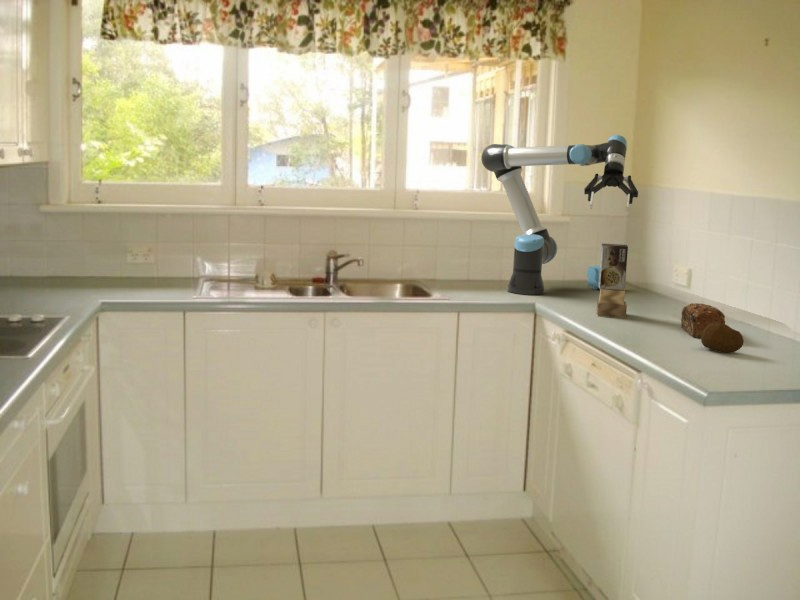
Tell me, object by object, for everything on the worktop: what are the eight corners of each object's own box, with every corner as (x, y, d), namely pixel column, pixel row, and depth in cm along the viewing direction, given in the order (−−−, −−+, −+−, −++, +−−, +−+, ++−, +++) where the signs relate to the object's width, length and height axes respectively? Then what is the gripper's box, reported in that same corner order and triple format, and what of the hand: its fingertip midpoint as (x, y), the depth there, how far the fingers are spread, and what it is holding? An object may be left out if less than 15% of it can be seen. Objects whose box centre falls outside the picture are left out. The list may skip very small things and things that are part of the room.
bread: (723, 340, 289) (727, 310, 287) (689, 338, 290) (693, 308, 288) (710, 329, 307) (713, 301, 305) (679, 327, 308) (681, 299, 306)
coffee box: (623, 288, 326) (627, 244, 323) (624, 290, 320) (628, 246, 317) (597, 286, 327) (601, 242, 325) (599, 288, 321) (602, 244, 318)
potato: (731, 357, 264) (735, 328, 262) (693, 349, 272) (696, 321, 270) (743, 353, 270) (746, 325, 268) (706, 346, 278) (709, 318, 276)
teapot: (629, 290, 387) (631, 264, 385) (607, 294, 374) (610, 267, 372) (597, 285, 398) (599, 260, 396) (575, 288, 385) (577, 262, 383)
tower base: (597, 317, 321) (598, 303, 320) (596, 312, 331) (597, 299, 330) (625, 319, 319) (626, 305, 318) (623, 314, 329) (625, 301, 328)
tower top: (599, 303, 321) (600, 289, 320) (599, 299, 329) (600, 286, 328) (623, 305, 319) (625, 291, 319) (622, 301, 328) (624, 288, 327)
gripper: (582, 159, 351) (575, 199, 339) (647, 162, 344) (643, 203, 333) (582, 172, 357) (575, 212, 345) (646, 176, 350) (642, 216, 339)
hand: (609, 207), depth 339 cm, fingers open, 13 cm apart
